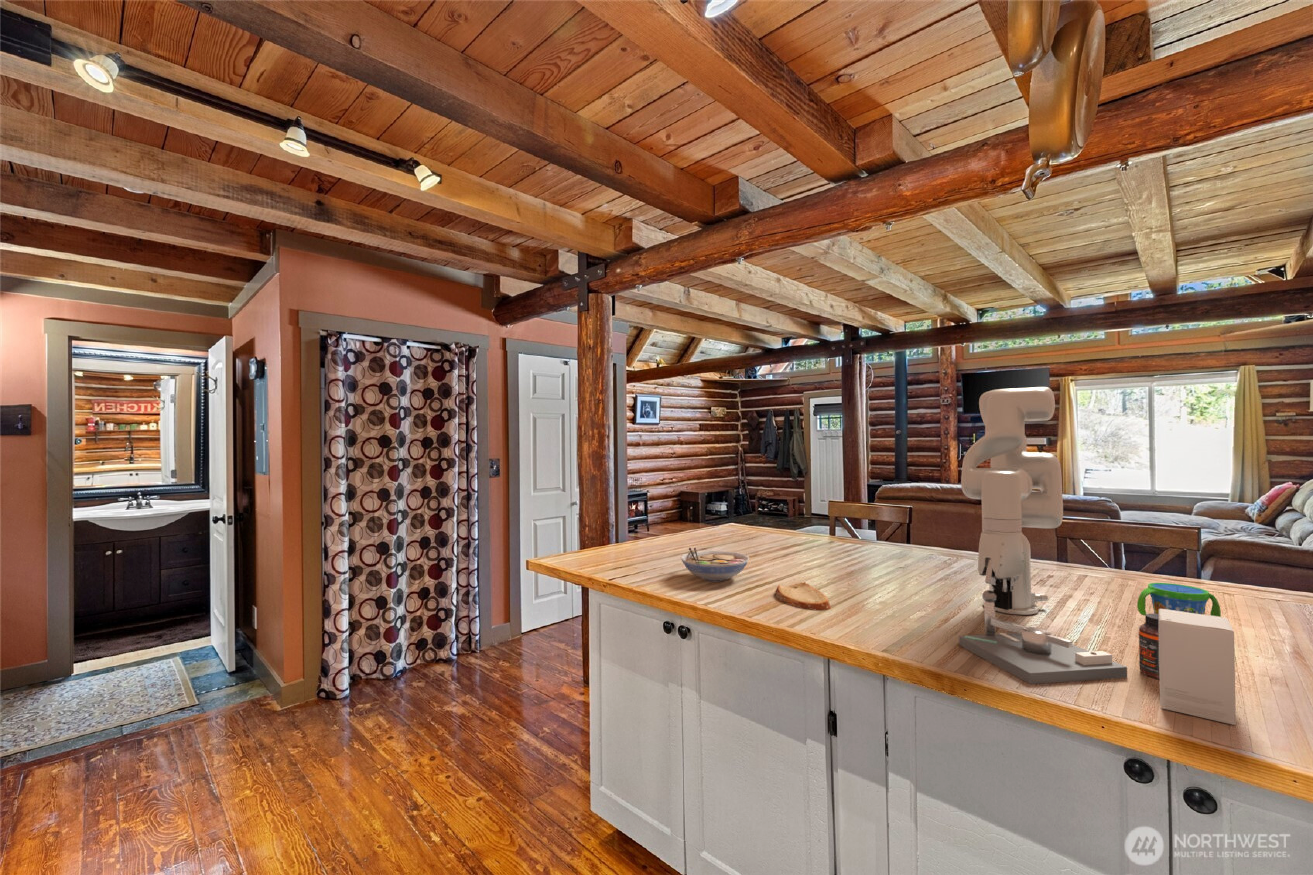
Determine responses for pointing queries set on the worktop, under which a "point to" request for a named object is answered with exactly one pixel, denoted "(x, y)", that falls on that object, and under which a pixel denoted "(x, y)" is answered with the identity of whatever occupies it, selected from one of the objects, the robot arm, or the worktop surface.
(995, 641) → the stand
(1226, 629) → the supplement box
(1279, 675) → the worktop surface
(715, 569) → the ramen bowl
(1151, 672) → the supplement bottle
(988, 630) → the metal crank lever
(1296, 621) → the worktop surface
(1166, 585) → the snack cup
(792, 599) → the bread slice
